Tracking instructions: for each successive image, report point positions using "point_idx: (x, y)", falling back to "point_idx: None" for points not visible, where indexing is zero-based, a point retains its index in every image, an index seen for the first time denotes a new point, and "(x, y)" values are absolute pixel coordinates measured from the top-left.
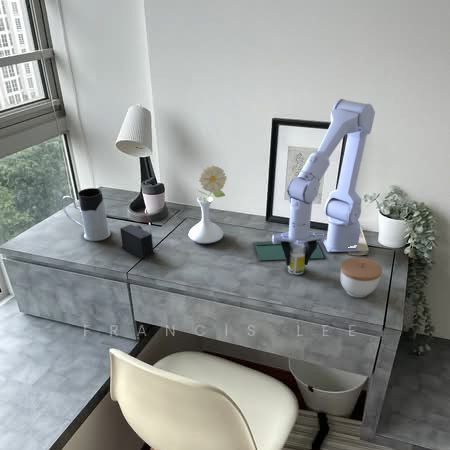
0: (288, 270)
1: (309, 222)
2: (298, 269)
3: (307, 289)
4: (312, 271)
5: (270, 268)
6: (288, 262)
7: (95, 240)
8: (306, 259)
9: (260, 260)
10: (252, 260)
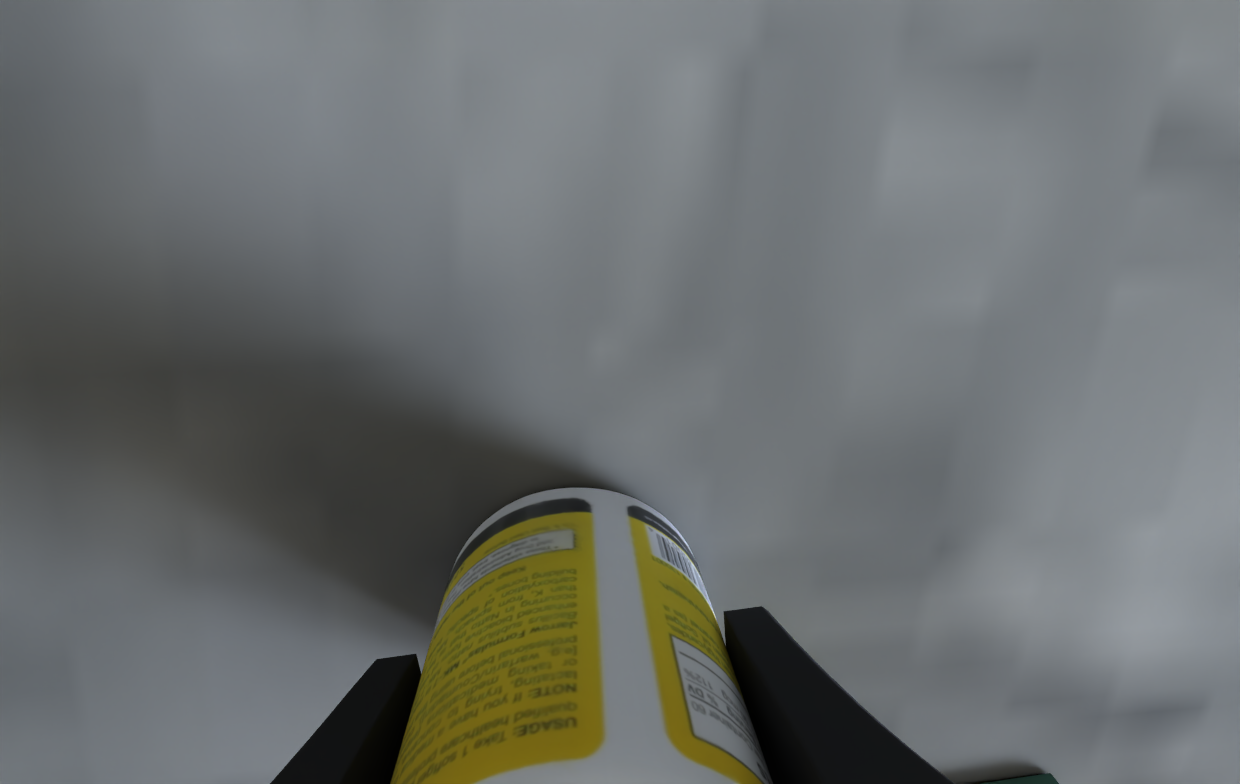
0: (698, 569)
1: None
2: (545, 536)
3: (385, 6)
4: (316, 595)
5: (938, 622)
6: (765, 649)
7: None
8: (355, 750)
9: (1039, 780)
10: (1129, 775)
